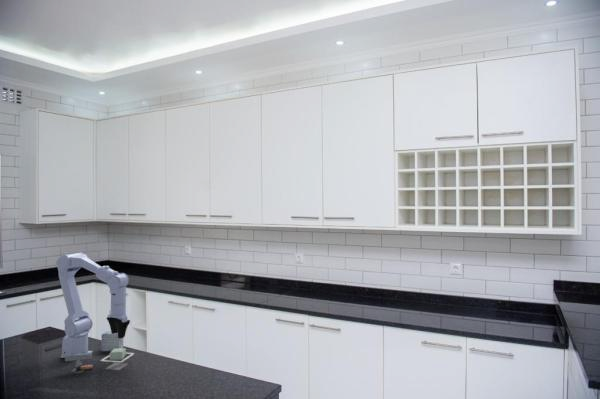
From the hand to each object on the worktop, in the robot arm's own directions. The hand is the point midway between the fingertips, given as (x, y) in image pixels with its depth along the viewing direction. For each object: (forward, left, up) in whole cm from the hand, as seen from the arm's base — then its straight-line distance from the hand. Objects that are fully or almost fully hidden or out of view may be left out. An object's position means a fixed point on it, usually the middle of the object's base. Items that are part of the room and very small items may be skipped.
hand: (118, 335), depth 162 cm
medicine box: (-8, +8, -11) cm, 16 cm away
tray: (0, 0, -10) cm, 10 cm away
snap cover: (0, 0, -10) cm, 10 cm away
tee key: (-7, -14, -9) cm, 18 cm away
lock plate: (-2, -12, -10) cm, 16 cm away
